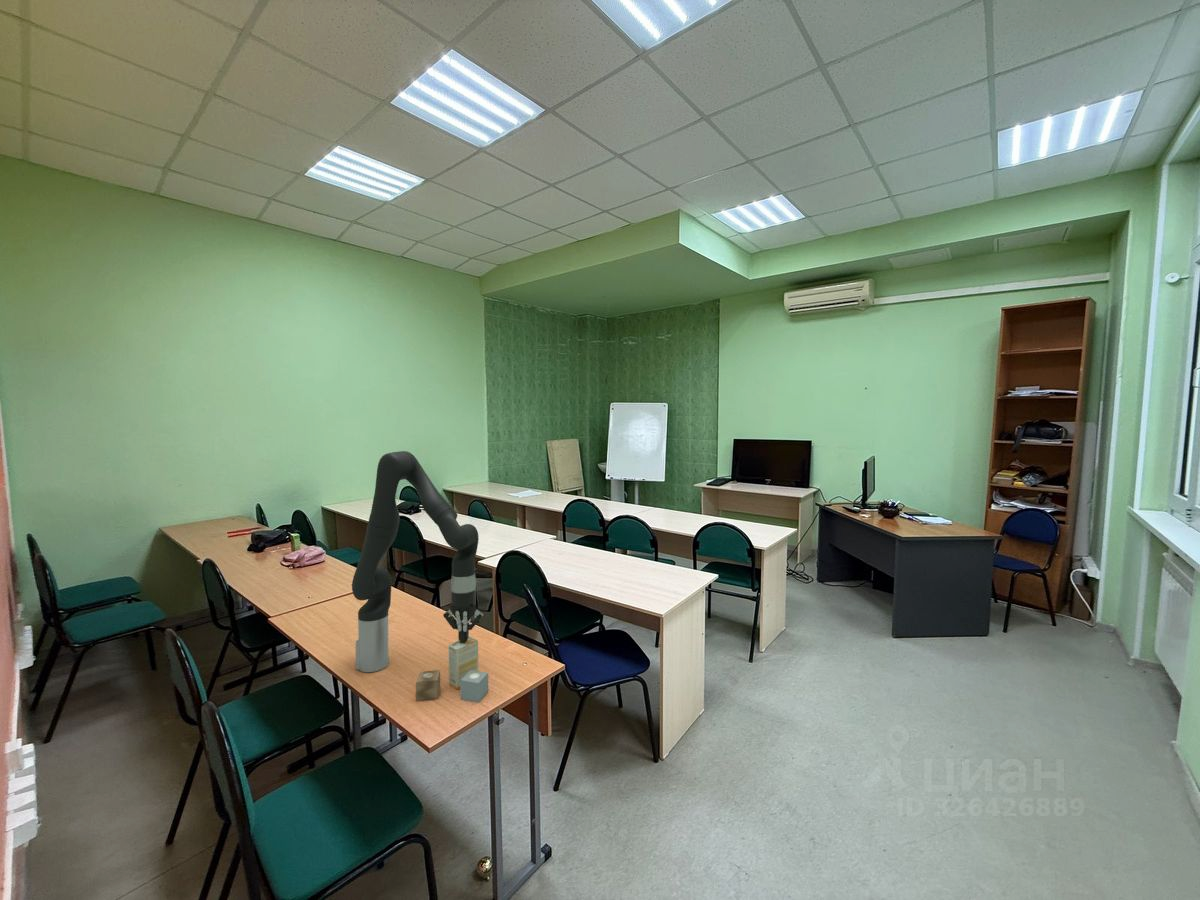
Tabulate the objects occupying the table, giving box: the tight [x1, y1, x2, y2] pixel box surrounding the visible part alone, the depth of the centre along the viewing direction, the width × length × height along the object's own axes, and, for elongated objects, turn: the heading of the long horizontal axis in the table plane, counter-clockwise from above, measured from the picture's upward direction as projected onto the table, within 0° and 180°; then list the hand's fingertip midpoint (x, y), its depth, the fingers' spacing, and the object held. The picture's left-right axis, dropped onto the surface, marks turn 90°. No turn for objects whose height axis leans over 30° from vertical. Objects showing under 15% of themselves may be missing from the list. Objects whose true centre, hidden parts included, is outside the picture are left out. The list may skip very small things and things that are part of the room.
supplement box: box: [447, 635, 479, 690], centre depth 149 cm, size 8×5×13 cm, turn 141°
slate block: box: [459, 670, 489, 703], centre depth 142 cm, size 6×6×6 cm
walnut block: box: [415, 669, 441, 702], centre depth 142 cm, size 6×6×6 cm
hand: (463, 641), depth 149 cm, fingers closed
